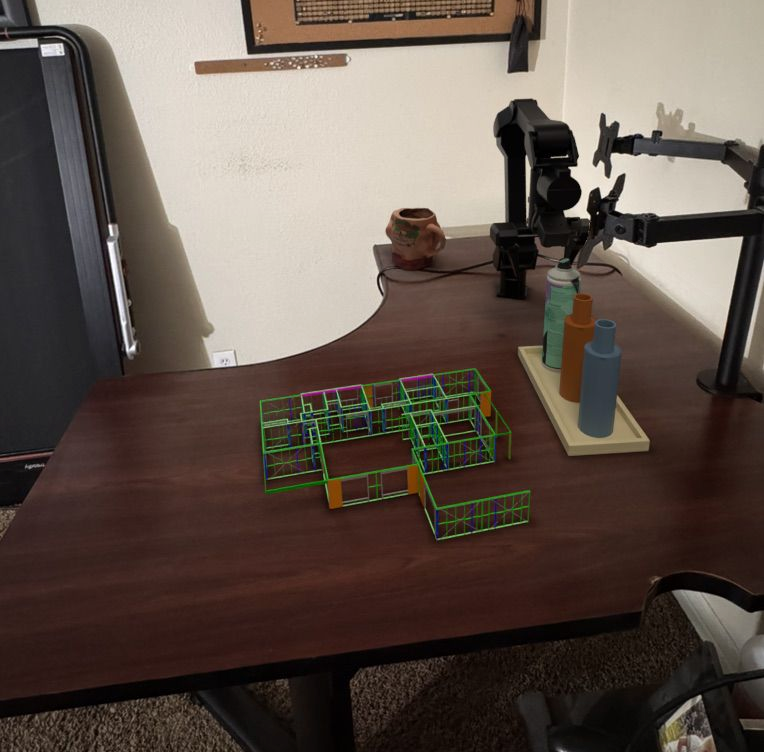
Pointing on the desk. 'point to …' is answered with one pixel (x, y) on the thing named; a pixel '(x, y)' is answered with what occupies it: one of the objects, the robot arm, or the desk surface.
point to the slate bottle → (600, 381)
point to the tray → (567, 413)
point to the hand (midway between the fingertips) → (541, 275)
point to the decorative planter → (414, 237)
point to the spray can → (558, 311)
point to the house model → (413, 471)
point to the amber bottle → (575, 346)
